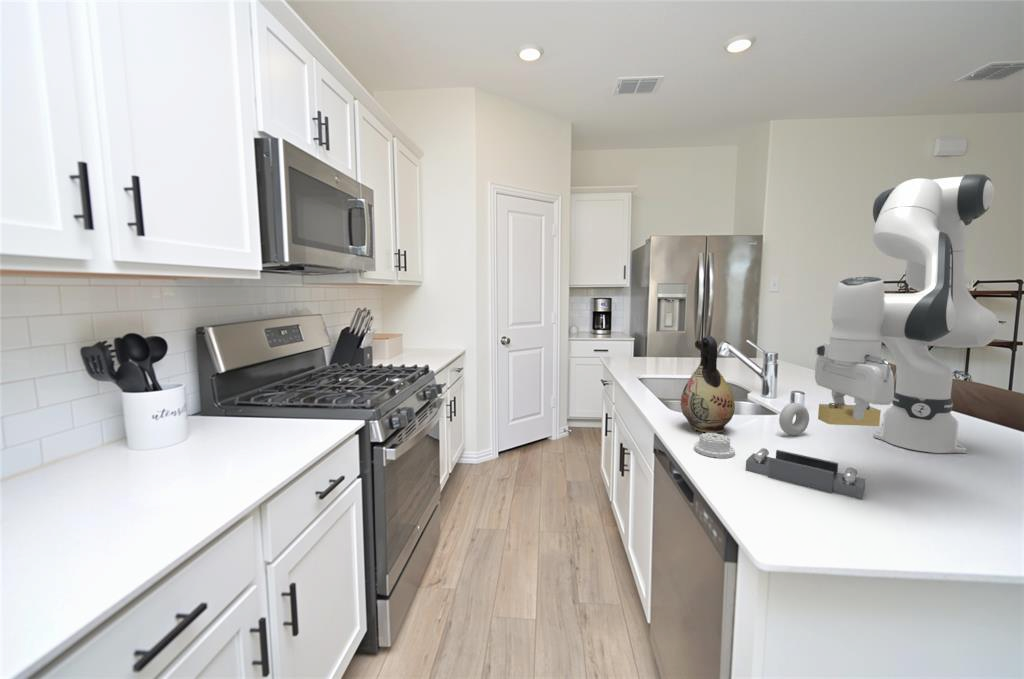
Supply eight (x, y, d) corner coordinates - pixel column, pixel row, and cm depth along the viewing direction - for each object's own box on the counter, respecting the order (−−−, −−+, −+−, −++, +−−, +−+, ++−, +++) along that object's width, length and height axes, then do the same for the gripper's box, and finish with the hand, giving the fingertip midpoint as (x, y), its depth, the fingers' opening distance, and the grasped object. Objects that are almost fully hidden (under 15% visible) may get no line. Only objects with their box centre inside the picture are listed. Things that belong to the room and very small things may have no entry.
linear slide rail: (753, 461, 108) (754, 444, 108) (865, 488, 93) (866, 469, 93) (744, 471, 103) (745, 453, 103) (861, 501, 88) (863, 480, 87)
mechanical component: (698, 458, 112) (739, 460, 110) (699, 441, 111) (740, 444, 110) (690, 444, 122) (728, 446, 120) (691, 429, 121) (729, 431, 119)
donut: (800, 431, 131) (802, 400, 130) (811, 435, 128) (813, 402, 127) (775, 435, 128) (777, 402, 127) (785, 439, 125) (787, 405, 124)
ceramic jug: (674, 421, 143) (677, 332, 140) (723, 422, 141) (727, 332, 137) (688, 438, 126) (692, 337, 123) (743, 440, 124) (749, 338, 121)
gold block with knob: (817, 419, 96) (819, 401, 96) (865, 420, 95) (867, 402, 95) (828, 424, 92) (830, 405, 92) (879, 426, 91) (880, 407, 91)
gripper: (908, 359, 82) (900, 430, 83) (839, 347, 102) (834, 404, 103) (872, 359, 82) (865, 428, 84) (811, 346, 103) (806, 403, 104)
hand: (848, 414), depth 94 cm, fingers closed on gold block with knob, 4 cm apart
